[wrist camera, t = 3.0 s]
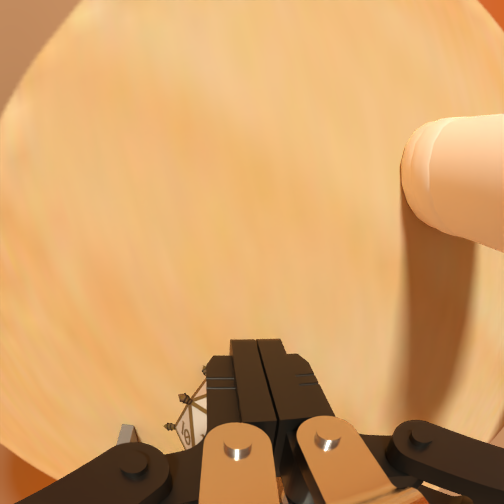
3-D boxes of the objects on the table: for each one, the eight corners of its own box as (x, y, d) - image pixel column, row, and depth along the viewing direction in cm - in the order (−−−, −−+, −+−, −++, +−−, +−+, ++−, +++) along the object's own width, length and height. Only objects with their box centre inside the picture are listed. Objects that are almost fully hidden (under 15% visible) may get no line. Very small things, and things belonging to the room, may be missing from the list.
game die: (250, 370, 25) (311, 468, 19) (155, 405, 22) (210, 516, 16) (266, 309, 19) (359, 446, 13) (132, 354, 16) (208, 525, 10)
